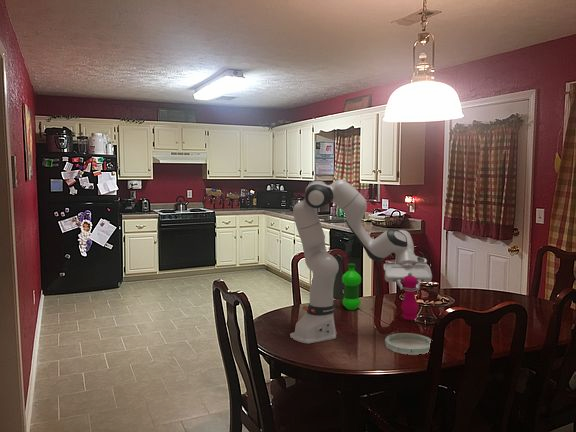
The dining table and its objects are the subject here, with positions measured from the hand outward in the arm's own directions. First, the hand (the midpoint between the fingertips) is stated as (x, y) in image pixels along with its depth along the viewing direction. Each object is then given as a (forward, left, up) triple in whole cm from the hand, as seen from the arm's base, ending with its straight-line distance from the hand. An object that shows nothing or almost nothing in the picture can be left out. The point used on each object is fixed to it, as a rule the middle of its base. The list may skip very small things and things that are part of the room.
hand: (409, 289), depth 209 cm
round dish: (0, 0, -25) cm, 25 cm away
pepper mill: (0, 0, -13) cm, 13 cm away
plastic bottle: (+21, +57, -25) cm, 65 cm away
